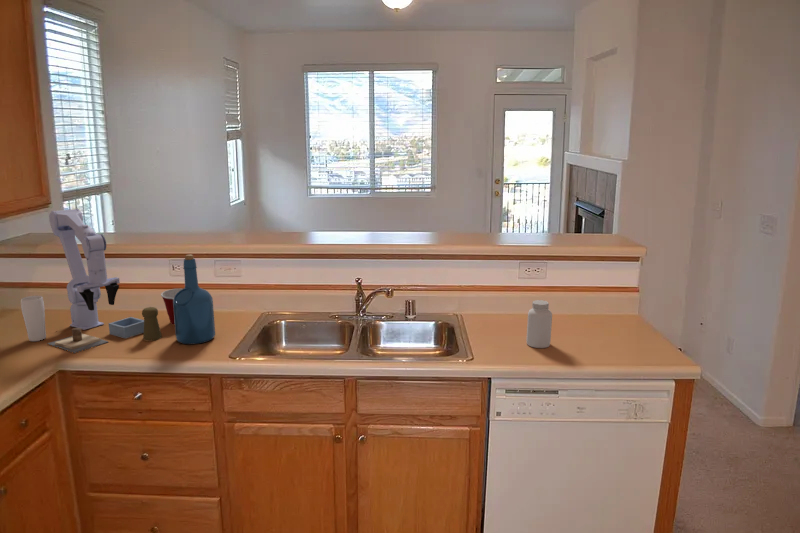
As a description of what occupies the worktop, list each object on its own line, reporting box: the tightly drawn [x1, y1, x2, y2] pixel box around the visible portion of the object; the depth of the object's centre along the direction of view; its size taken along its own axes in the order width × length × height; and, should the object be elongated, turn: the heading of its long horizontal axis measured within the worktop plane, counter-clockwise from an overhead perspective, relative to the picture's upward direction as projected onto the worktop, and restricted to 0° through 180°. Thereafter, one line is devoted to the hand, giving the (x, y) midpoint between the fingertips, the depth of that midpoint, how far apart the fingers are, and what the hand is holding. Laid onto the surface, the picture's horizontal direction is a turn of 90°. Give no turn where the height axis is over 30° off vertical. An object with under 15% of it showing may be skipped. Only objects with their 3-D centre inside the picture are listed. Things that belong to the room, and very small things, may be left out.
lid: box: [55, 327, 101, 349], centre depth 207 cm, size 10×10×5 cm
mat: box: [46, 335, 109, 354], centre depth 208 cm, size 16×12×1 cm
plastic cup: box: [160, 288, 183, 326], centre depth 228 cm, size 11×11×12 cm
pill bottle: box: [525, 299, 553, 349], centre depth 204 cm, size 8×8×15 cm
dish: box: [108, 316, 144, 339], centre depth 218 cm, size 9×9×4 cm
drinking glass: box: [20, 295, 47, 342], centre depth 210 cm, size 7×7×15 cm
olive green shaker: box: [141, 306, 162, 342], centre depth 212 cm, size 6×6×11 cm
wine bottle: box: [173, 253, 216, 345], centre depth 209 cm, size 14×13×30 cm
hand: (101, 307), depth 214 cm, fingers open, 7 cm apart
